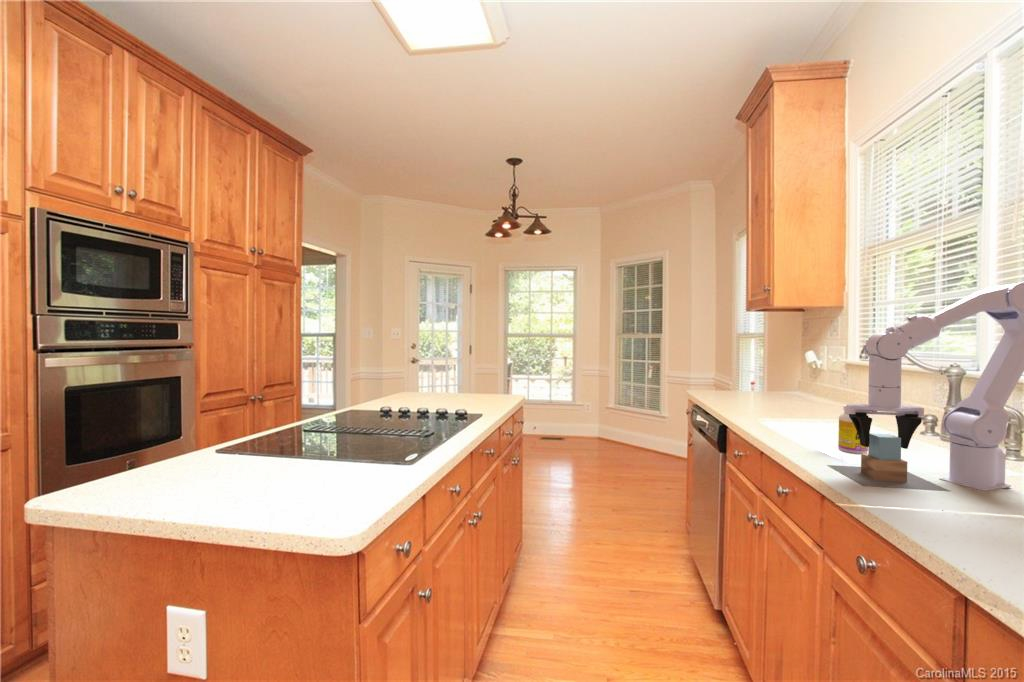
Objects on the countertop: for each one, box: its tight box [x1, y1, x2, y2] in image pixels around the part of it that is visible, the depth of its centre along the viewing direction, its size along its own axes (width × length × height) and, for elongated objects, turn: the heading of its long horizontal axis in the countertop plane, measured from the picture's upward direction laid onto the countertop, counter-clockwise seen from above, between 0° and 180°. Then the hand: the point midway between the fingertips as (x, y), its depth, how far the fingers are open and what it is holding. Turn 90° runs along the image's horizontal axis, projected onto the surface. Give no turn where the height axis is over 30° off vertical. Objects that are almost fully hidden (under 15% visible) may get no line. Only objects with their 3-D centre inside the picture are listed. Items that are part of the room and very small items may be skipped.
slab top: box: [860, 453, 908, 472], centre depth 104 cm, size 6×6×2 cm
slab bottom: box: [860, 462, 908, 482], centre depth 104 cm, size 6×6×2 cm
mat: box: [826, 464, 951, 492], centre depth 104 cm, size 16×16×1 cm
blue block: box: [867, 432, 902, 461], centre depth 104 cm, size 4×4×5 cm
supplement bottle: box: [837, 404, 869, 456], centre depth 128 cm, size 7×7×13 cm
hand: (883, 446), depth 104 cm, fingers open, 7 cm apart
